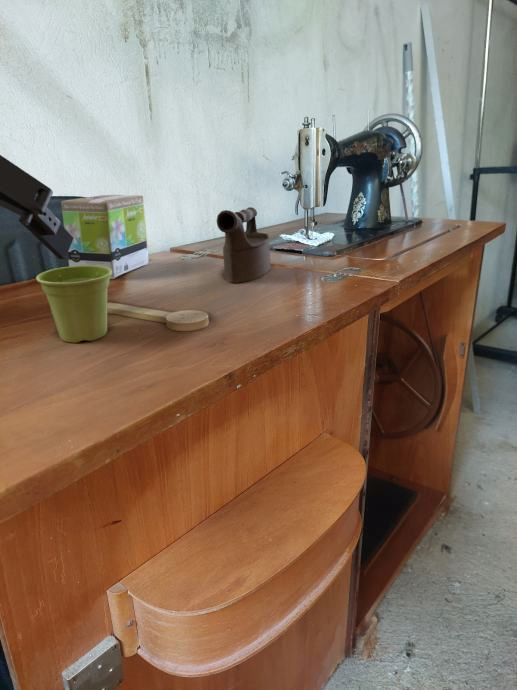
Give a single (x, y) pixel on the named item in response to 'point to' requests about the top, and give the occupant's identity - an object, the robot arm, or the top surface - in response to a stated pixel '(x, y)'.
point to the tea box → (107, 232)
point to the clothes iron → (243, 246)
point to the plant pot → (78, 300)
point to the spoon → (163, 316)
